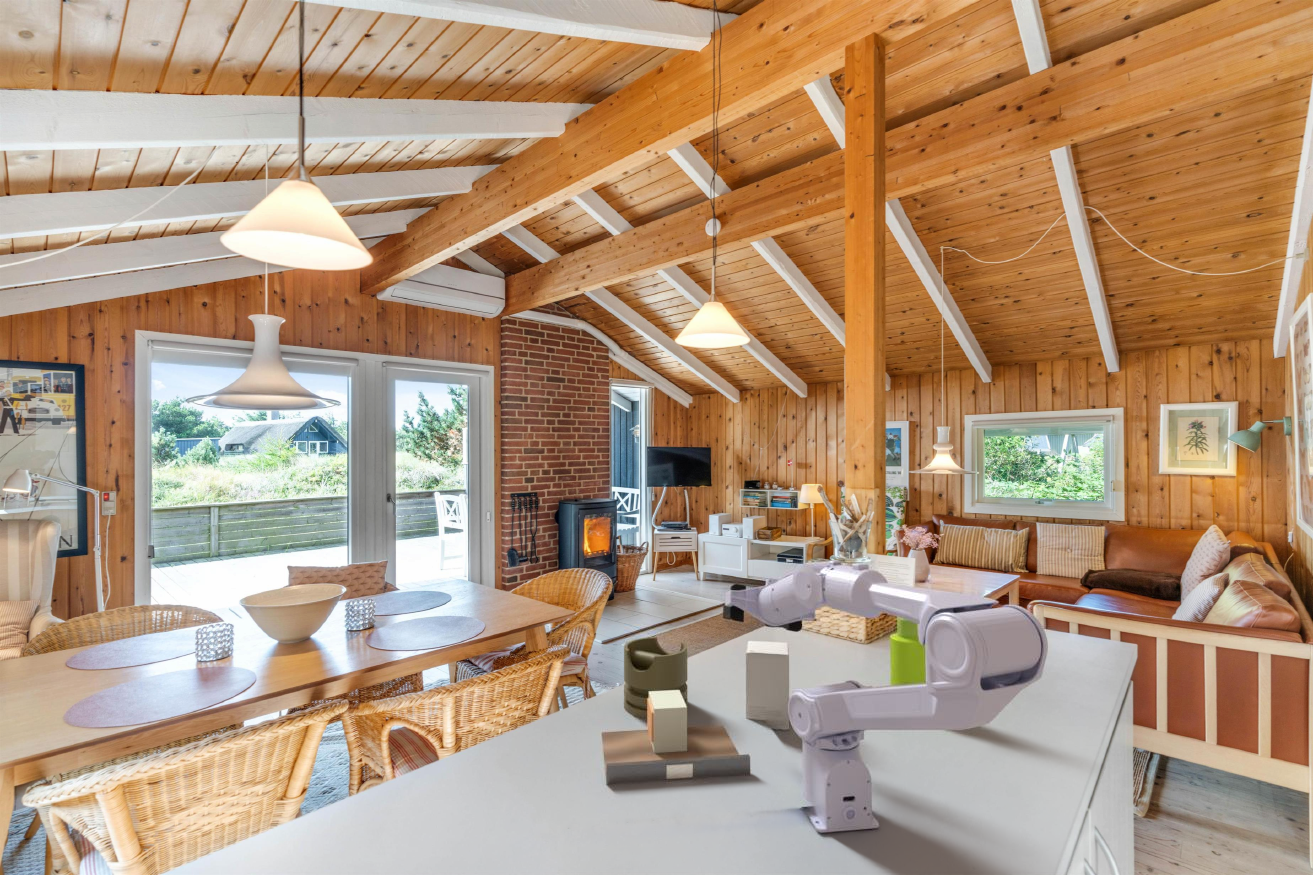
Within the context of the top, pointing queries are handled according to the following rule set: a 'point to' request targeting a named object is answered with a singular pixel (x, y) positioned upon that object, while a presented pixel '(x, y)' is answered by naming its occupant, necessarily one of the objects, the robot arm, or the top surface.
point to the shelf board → (640, 749)
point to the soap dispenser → (907, 654)
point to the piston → (651, 673)
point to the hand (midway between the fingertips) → (746, 616)
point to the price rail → (677, 769)
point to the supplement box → (768, 683)
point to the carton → (667, 721)
